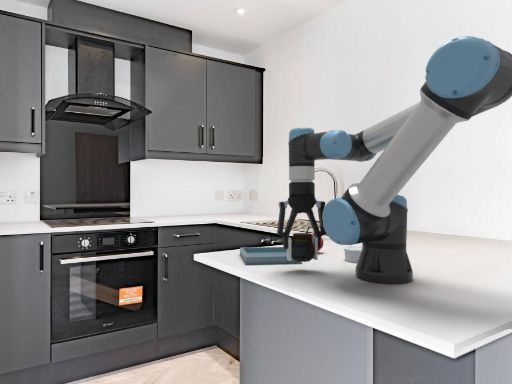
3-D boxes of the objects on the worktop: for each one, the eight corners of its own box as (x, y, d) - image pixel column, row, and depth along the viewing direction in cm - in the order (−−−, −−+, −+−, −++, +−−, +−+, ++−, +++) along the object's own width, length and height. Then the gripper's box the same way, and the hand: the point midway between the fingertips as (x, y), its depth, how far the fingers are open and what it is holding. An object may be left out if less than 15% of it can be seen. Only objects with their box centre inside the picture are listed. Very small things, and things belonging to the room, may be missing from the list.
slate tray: (301, 263, 127) (301, 255, 127) (246, 265, 124) (246, 257, 124) (288, 253, 145) (288, 246, 145) (240, 254, 142) (240, 247, 142)
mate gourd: (285, 261, 114) (285, 227, 114) (295, 258, 121) (295, 225, 121) (309, 263, 111) (309, 228, 111) (318, 259, 118) (318, 226, 118)
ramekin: (372, 264, 128) (372, 250, 127) (343, 262, 129) (344, 249, 129) (369, 259, 136) (370, 246, 136) (343, 257, 138) (343, 245, 138)
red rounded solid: (318, 255, 142) (318, 232, 142) (304, 253, 146) (304, 231, 145) (325, 252, 147) (326, 231, 146) (312, 251, 150) (312, 230, 150)
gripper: (330, 181, 121) (330, 256, 121) (265, 181, 118) (266, 258, 118) (339, 181, 114) (339, 260, 114) (270, 181, 111) (270, 263, 111)
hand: (302, 259), depth 116 cm, fingers closed on mate gourd, 7 cm apart
